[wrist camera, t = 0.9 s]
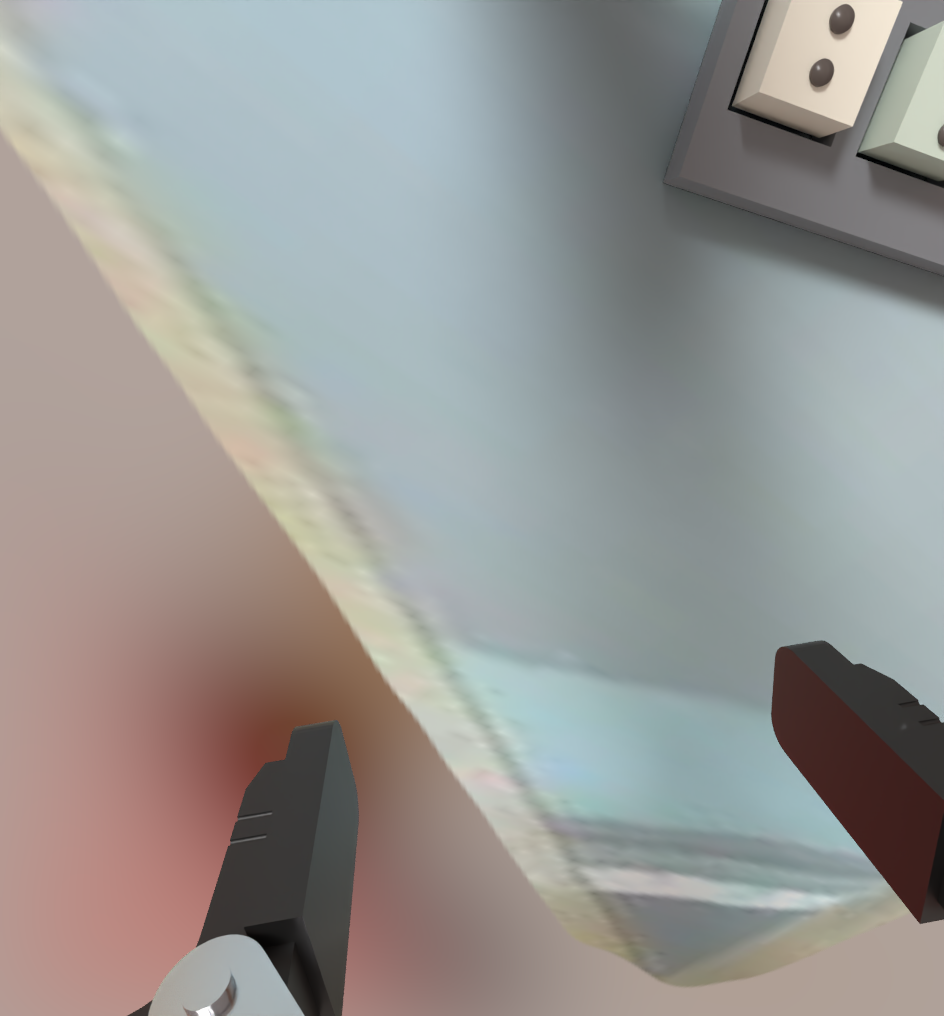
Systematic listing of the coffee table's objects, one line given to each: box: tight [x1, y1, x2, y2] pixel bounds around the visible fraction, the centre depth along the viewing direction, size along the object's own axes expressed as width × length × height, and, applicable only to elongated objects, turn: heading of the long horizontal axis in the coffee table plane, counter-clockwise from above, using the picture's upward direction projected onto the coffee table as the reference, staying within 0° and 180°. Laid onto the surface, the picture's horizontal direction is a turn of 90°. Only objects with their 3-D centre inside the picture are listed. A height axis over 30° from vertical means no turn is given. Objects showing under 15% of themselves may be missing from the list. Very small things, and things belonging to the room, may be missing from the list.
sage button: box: [858, 21, 944, 182], centre depth 29 cm, size 5×5×3 cm
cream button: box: [732, 0, 903, 138], centre depth 28 cm, size 5×5×3 cm
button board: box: [663, 0, 944, 276], centre depth 30 cm, size 12×22×2 cm, turn 75°
